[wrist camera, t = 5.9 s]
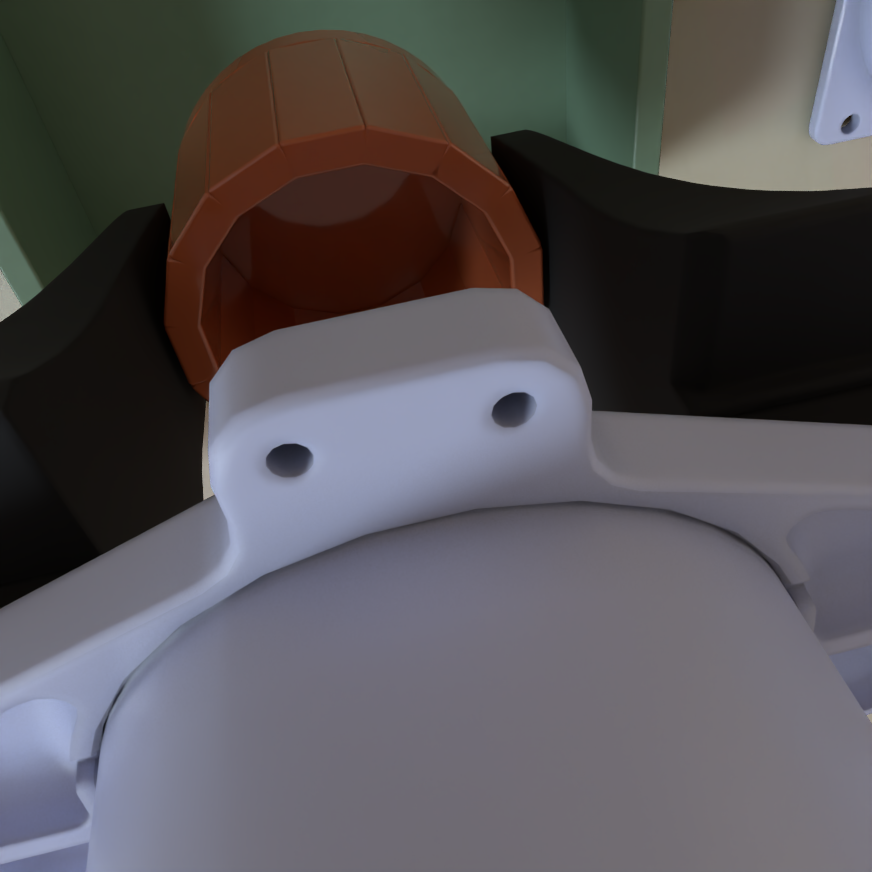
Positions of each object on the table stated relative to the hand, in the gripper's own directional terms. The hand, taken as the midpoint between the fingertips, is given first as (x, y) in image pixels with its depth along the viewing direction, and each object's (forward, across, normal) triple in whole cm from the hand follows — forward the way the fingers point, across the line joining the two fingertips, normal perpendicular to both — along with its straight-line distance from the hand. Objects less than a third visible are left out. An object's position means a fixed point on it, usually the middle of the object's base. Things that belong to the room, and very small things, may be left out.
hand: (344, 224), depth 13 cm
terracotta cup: (+1, 0, 0) cm, 1 cm away
